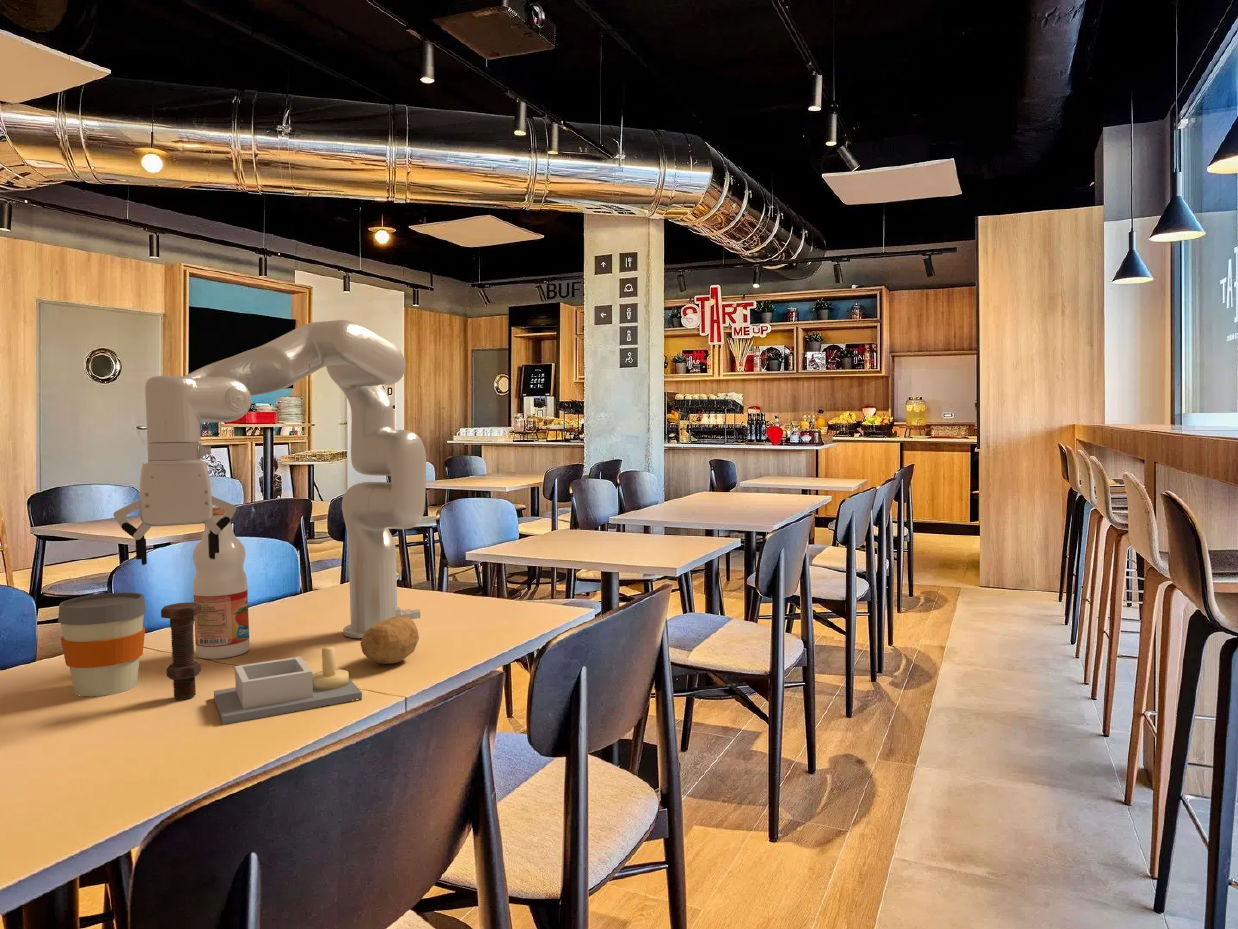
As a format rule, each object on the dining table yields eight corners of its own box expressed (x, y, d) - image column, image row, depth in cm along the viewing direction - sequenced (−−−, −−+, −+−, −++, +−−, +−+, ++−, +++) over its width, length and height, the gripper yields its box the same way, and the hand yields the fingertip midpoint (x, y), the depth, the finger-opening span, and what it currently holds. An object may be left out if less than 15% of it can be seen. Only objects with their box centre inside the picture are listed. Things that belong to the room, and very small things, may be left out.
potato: (430, 651, 160) (429, 610, 159) (403, 673, 146) (402, 628, 145) (381, 650, 161) (379, 609, 160) (350, 672, 147) (349, 627, 146)
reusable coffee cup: (85, 705, 131) (80, 611, 130) (46, 692, 138) (42, 603, 137) (164, 683, 142) (160, 596, 141) (125, 673, 148) (121, 589, 148)
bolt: (176, 692, 137) (173, 602, 136) (208, 691, 137) (204, 601, 136) (160, 704, 131) (156, 610, 130) (193, 702, 131) (189, 609, 131)
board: (342, 677, 144) (340, 636, 143) (362, 699, 132) (360, 654, 131) (214, 698, 134) (212, 654, 133) (222, 724, 122) (221, 676, 121)
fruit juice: (193, 651, 162) (187, 508, 161) (245, 644, 167) (240, 505, 166) (199, 663, 154) (193, 512, 153) (253, 654, 159) (248, 508, 158)
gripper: (231, 452, 140) (235, 553, 141) (111, 455, 131) (115, 563, 132) (236, 453, 133) (240, 559, 134) (110, 456, 125) (115, 569, 125)
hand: (178, 560), depth 133 cm, fingers open, 9 cm apart
